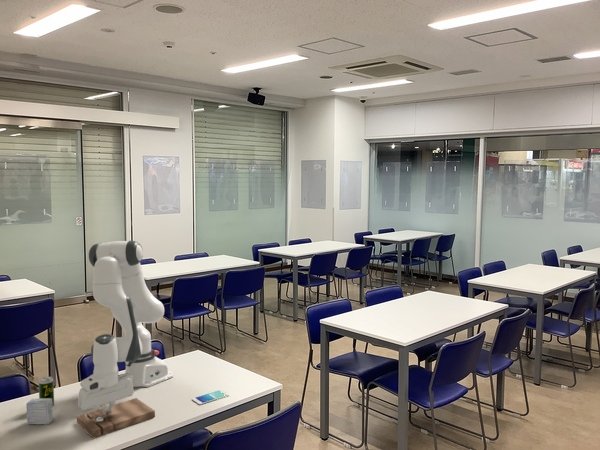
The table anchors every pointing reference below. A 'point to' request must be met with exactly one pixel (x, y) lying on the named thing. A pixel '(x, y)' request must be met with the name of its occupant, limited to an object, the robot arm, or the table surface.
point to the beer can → (46, 388)
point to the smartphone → (209, 397)
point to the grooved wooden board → (116, 417)
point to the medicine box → (39, 411)
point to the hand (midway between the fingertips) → (107, 413)
